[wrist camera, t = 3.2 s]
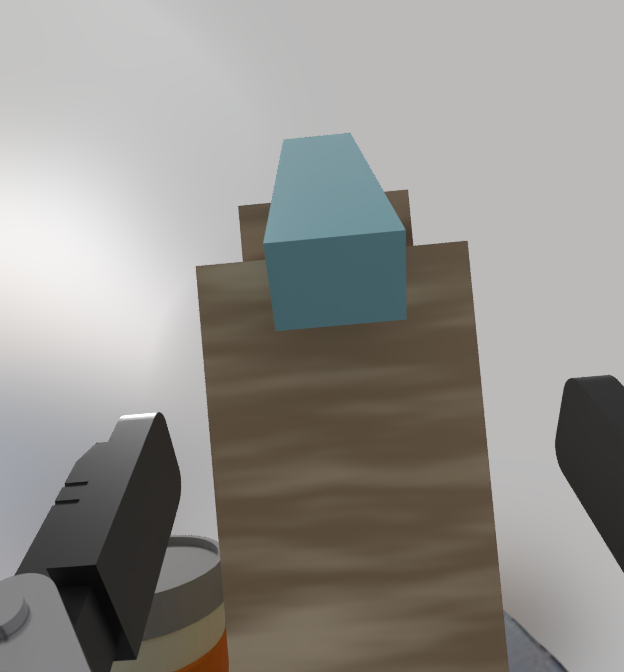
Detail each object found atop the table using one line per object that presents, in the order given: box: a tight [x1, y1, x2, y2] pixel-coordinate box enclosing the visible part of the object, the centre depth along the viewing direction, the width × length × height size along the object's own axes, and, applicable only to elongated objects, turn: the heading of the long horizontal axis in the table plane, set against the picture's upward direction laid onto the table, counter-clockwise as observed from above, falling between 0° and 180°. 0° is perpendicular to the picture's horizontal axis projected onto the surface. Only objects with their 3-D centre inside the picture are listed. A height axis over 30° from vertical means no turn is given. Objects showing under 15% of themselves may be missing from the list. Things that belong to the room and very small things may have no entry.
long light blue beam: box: [263, 133, 406, 331], centre depth 30 cm, size 22×5×15 cm, turn 178°
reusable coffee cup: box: [110, 535, 229, 672], centre depth 40 cm, size 13×13×15 cm
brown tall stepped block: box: [196, 190, 509, 672], centre depth 34 cm, size 14×14×41 cm
